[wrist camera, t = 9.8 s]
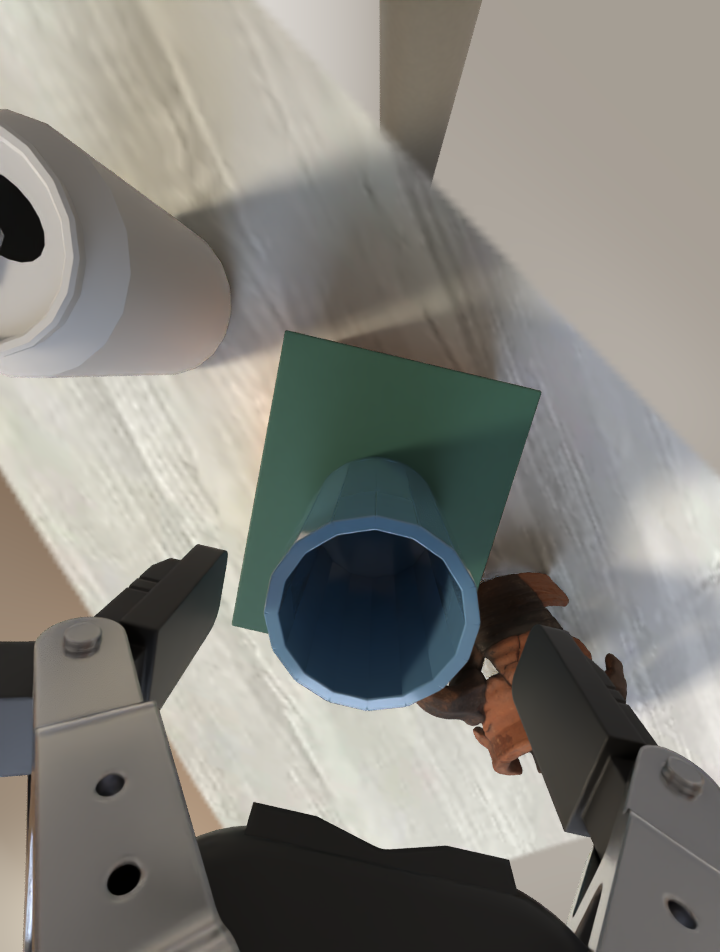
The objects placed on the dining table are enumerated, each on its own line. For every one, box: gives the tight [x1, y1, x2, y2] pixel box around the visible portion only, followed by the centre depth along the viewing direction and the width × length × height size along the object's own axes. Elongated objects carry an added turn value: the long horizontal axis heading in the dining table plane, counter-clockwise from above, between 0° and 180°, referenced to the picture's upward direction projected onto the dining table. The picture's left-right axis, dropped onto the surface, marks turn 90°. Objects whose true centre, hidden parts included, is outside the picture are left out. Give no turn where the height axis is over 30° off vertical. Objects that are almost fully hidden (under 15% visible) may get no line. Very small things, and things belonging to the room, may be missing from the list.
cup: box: [264, 457, 481, 711], centre depth 16 cm, size 6×6×8 cm
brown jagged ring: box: [416, 572, 627, 775], centre depth 25 cm, size 12×10×8 cm
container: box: [232, 330, 541, 634], centre depth 22 cm, size 14×11×6 cm
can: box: [0, 109, 231, 378], centre depth 18 cm, size 8×8×12 cm
